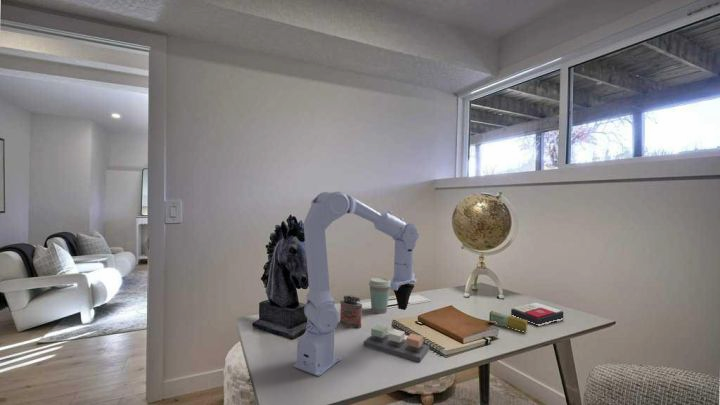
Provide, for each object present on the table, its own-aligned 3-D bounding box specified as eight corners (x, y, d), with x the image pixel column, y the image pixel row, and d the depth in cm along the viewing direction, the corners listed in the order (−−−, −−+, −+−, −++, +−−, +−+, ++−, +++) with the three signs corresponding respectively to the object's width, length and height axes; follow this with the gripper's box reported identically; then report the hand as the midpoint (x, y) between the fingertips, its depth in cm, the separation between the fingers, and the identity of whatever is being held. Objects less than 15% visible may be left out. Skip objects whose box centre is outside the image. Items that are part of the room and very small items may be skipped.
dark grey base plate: (420, 362, 81) (420, 357, 81) (363, 345, 89) (363, 340, 89) (429, 350, 88) (429, 345, 88) (376, 335, 96) (376, 331, 96)
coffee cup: (391, 315, 114) (392, 283, 114) (368, 314, 114) (369, 282, 114) (389, 307, 123) (390, 277, 123) (367, 306, 123) (368, 276, 123)
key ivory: (399, 342, 86) (400, 336, 86) (388, 339, 88) (388, 333, 88) (404, 337, 89) (404, 331, 89) (393, 334, 91) (393, 328, 91)
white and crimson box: (510, 307, 118) (535, 300, 124) (510, 318, 118) (535, 311, 124) (538, 317, 108) (564, 309, 114) (538, 329, 108) (564, 321, 114)
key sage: (382, 337, 89) (382, 331, 89) (371, 334, 90) (371, 328, 90) (387, 333, 92) (387, 327, 92) (376, 330, 94) (376, 324, 94)
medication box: (488, 323, 110) (488, 312, 110) (491, 321, 112) (491, 310, 112) (525, 334, 102) (526, 322, 101) (527, 331, 104) (528, 319, 103)
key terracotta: (418, 347, 83) (418, 341, 83) (406, 344, 85) (406, 337, 85) (422, 342, 86) (423, 336, 86) (410, 339, 88) (411, 333, 88)
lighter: (337, 324, 104) (338, 294, 104) (342, 320, 107) (343, 292, 107) (358, 329, 100) (359, 298, 100) (363, 325, 103) (364, 296, 103)
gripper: (407, 269, 83) (406, 319, 83) (424, 261, 96) (423, 304, 96) (384, 265, 86) (382, 313, 86) (403, 258, 99) (401, 300, 99)
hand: (402, 308), depth 91 cm, fingers closed
